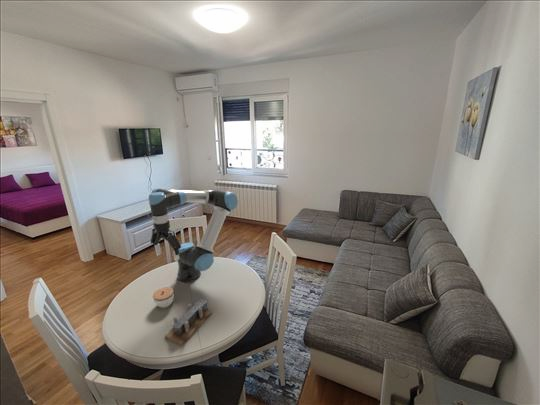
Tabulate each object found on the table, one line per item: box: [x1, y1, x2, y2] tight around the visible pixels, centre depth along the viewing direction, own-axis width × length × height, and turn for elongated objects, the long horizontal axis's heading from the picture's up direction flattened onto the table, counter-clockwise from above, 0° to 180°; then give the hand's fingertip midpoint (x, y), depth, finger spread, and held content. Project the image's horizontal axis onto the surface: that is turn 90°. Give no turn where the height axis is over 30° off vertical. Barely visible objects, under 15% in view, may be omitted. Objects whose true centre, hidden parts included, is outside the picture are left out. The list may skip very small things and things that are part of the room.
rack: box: [164, 303, 213, 347], centre depth 122 cm, size 22×11×8 cm, turn 155°
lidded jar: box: [152, 286, 175, 309], centre depth 137 cm, size 11×11×9 cm
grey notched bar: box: [172, 298, 209, 337], centre depth 124 cm, size 20×5×5 cm, turn 155°
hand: (167, 257), depth 133 cm, fingers open, 13 cm apart
